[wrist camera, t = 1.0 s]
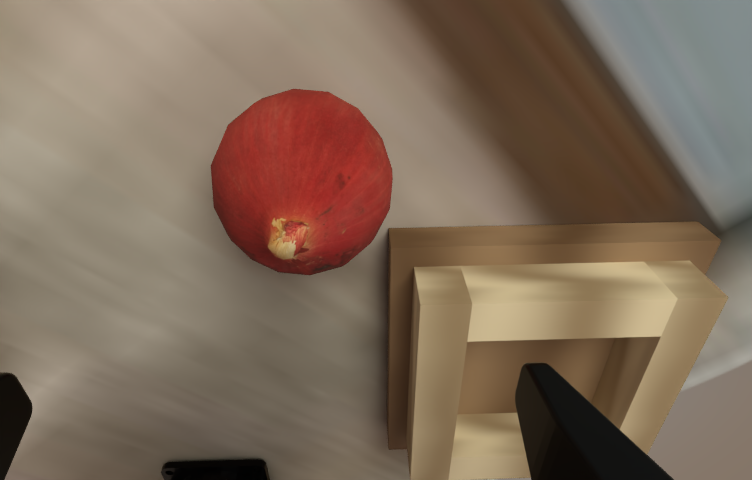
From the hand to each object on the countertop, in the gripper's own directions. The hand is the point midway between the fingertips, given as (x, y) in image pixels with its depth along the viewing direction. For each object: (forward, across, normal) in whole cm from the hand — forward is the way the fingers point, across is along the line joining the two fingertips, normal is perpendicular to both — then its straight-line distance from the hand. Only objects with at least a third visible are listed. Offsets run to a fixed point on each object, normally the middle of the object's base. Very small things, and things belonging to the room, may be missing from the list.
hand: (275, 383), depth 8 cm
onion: (+12, 0, 0) cm, 12 cm away
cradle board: (+12, -10, +11) cm, 19 cm away
